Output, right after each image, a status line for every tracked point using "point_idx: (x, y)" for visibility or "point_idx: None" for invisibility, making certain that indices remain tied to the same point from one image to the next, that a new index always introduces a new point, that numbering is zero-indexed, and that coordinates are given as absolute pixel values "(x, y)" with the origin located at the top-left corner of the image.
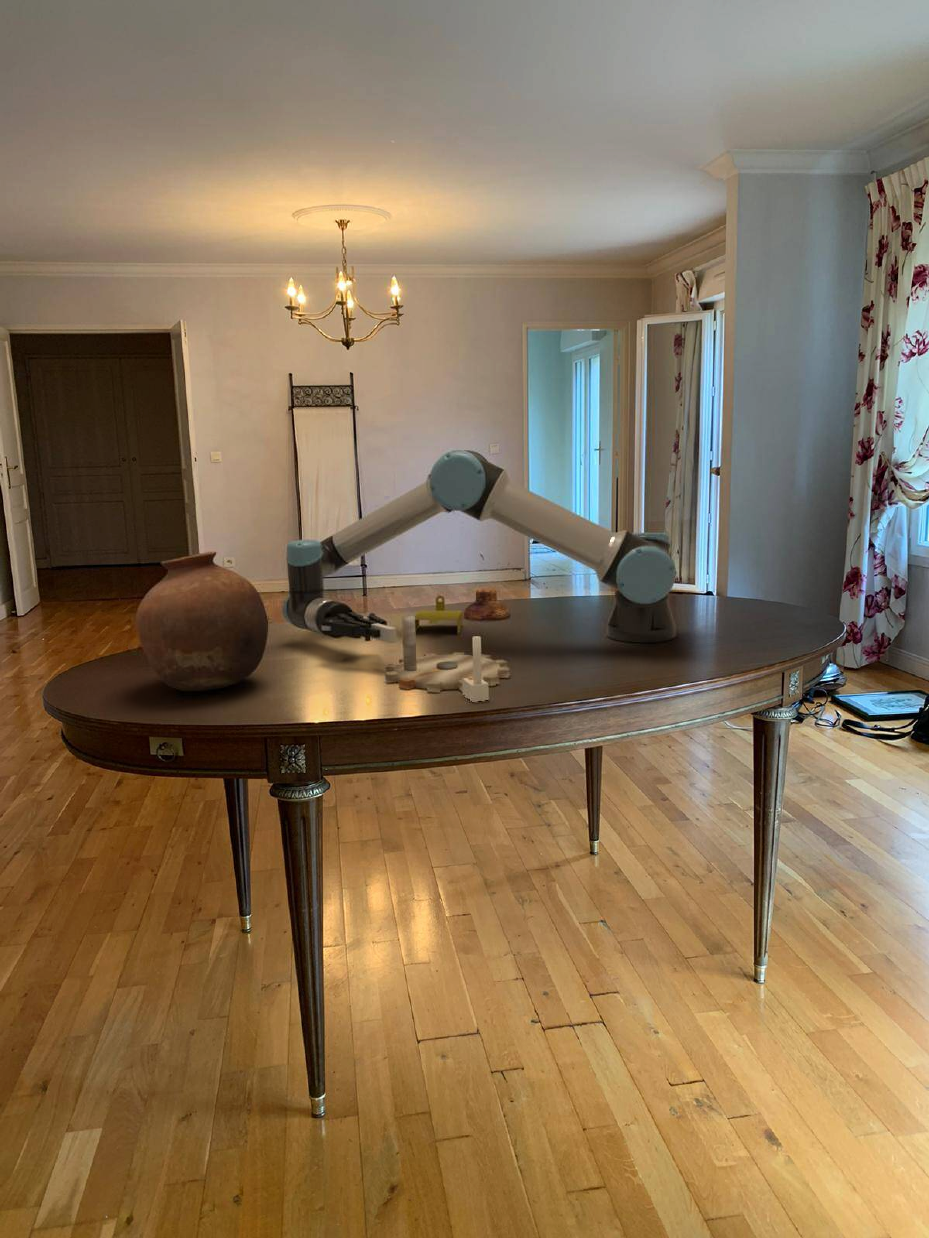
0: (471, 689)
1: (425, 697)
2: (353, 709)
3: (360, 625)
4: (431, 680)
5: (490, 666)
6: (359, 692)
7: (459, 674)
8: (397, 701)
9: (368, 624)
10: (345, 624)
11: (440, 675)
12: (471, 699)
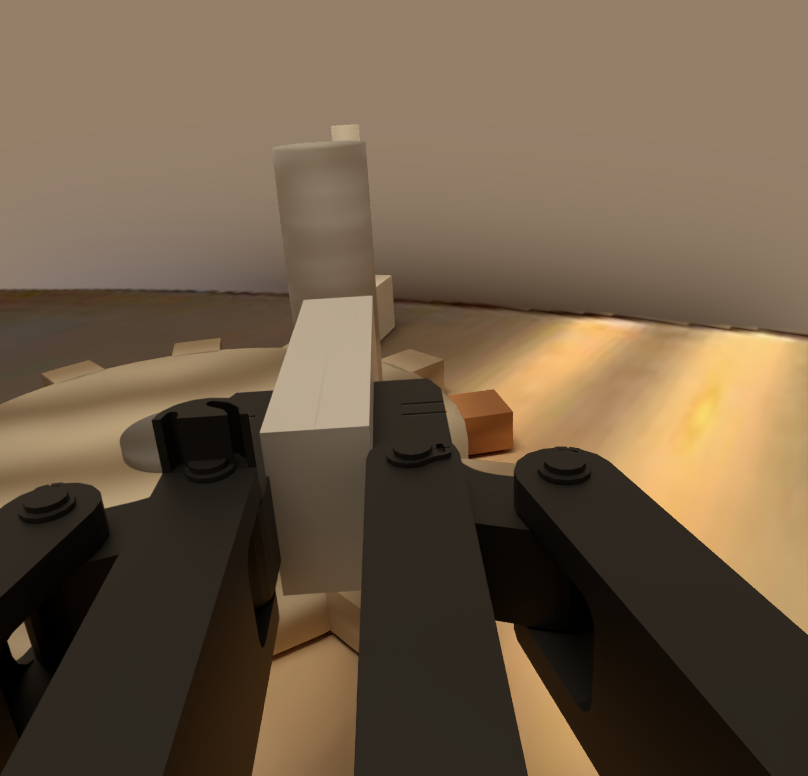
0: (390, 289)
1: (480, 376)
2: (784, 379)
3: (471, 531)
4: (400, 372)
5: (65, 395)
6: (720, 479)
7: (254, 380)
8: (593, 380)
9: (388, 448)
10: (755, 619)
11: None
12: (392, 320)
